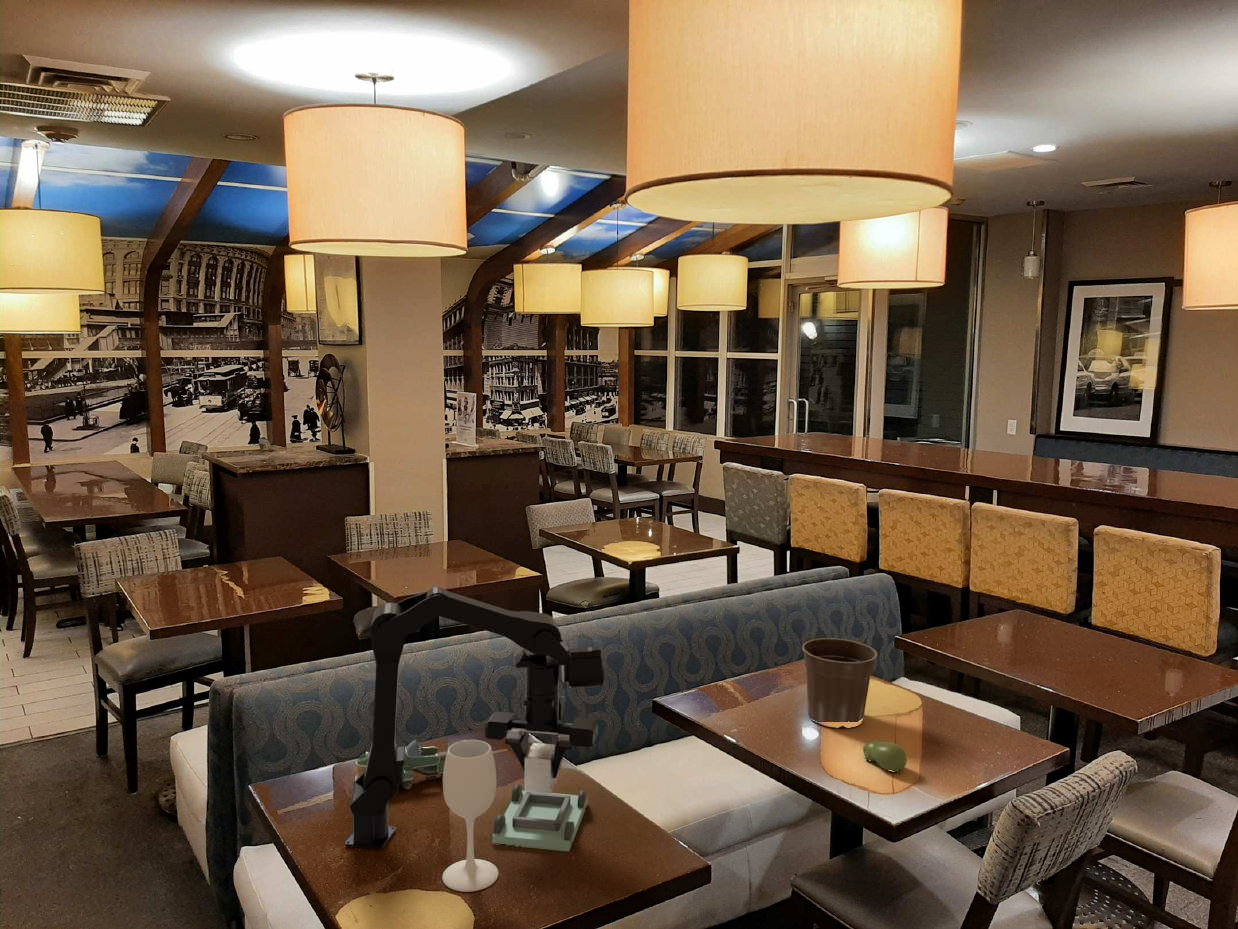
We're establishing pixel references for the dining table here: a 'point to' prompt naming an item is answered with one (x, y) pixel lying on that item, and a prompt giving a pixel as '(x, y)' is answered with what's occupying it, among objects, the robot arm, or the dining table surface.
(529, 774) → the white block
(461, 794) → the wineglass
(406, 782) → the hoverbike
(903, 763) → the pear
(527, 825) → the chassis
